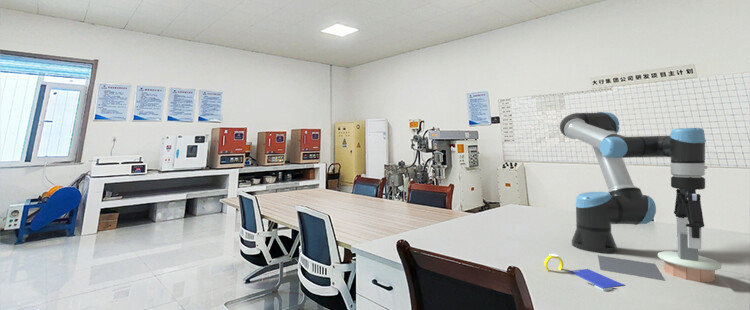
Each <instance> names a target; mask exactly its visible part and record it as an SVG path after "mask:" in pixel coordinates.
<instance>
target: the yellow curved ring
mask: <svg viewBox="0 0 750 310" xmlns="http://www.w3.org/2000/svg"><path fill="white" fill-rule="evenodd" d="M551 259H558V261H559V266H558V268H557V269H558V270H559V271H562V270H563V269H564V261H563V259H562V258H561V257H559V254H556V253H549V254H548V256H546V257H545V259H544V263H543V265H544V268H545V270H546V271H547V272H548V273H550V272H551V270H550V269H549V267H548V263H549V261H550V260H551Z"/></svg>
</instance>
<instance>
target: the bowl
mask: <svg viewBox="0 0 750 310" xmlns="http://www.w3.org/2000/svg"><path fill="white" fill-rule="evenodd" d="M663 271H664V272H665V273H666V274H668V275H670V276H673V277H674V278H675V277H676V278H679V279H682V280H683V279H684V280H687V281H692V282H699V283H713V282H714V281H716V270H702V269H694V268H688V267H683V266H679V265H675V264H672V263H668V262H666V261H663Z"/></svg>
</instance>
